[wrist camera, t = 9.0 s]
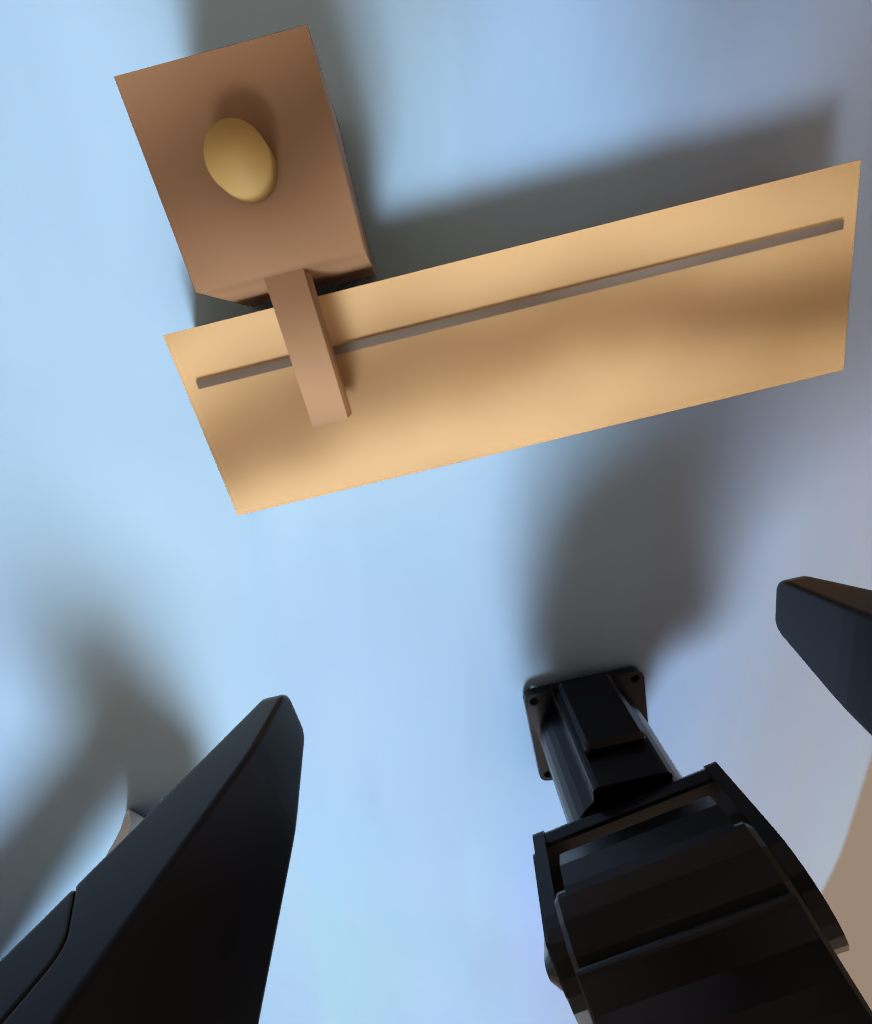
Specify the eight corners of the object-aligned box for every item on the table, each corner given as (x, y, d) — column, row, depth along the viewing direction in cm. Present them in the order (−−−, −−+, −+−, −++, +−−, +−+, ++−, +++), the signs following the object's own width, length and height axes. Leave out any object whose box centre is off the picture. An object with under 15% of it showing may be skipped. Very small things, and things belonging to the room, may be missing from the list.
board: (791, 367, 20) (845, 370, 17) (257, 495, 20) (236, 516, 18) (799, 184, 17) (864, 157, 15) (195, 336, 18) (161, 335, 15)
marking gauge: (405, 391, 19) (403, 409, 14) (291, 419, 19) (245, 448, 14) (337, 119, 16) (299, 1, 10) (200, 155, 16) (93, 57, 11)
